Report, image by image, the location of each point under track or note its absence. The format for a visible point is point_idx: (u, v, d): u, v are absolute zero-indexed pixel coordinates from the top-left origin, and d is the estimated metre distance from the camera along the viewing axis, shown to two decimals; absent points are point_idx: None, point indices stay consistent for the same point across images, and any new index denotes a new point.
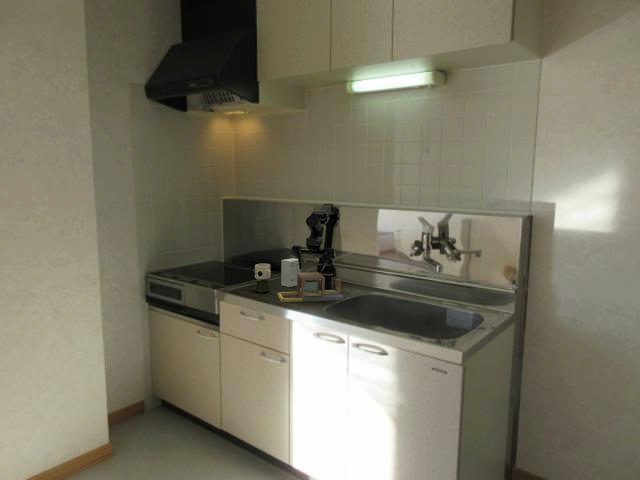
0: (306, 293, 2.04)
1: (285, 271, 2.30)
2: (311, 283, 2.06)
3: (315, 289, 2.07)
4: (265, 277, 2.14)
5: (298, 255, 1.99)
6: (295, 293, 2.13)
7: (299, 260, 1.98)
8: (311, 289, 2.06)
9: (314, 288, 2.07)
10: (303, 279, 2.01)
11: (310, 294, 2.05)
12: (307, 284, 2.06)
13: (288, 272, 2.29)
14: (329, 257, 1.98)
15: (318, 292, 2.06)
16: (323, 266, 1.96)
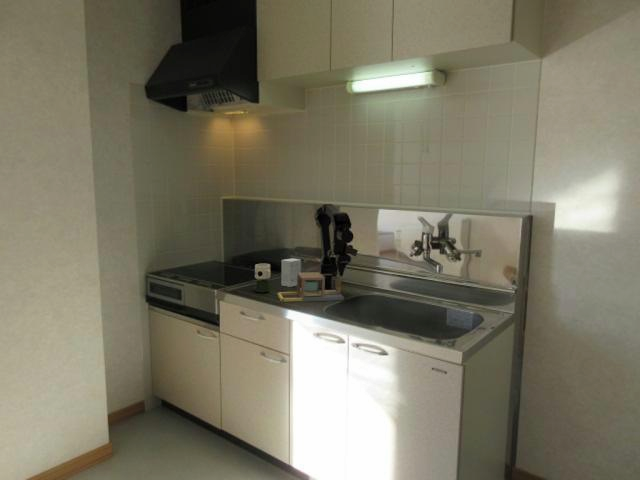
0: (306, 293, 2.04)
1: (285, 271, 2.30)
2: (311, 283, 2.06)
3: (315, 289, 2.07)
4: (265, 277, 2.14)
5: None
6: (295, 293, 2.13)
7: None
8: (311, 289, 2.06)
9: (314, 288, 2.07)
10: (303, 279, 2.01)
11: (310, 294, 2.05)
12: (307, 284, 2.06)
13: (288, 272, 2.29)
14: None
15: (318, 292, 2.06)
16: (336, 267, 2.16)
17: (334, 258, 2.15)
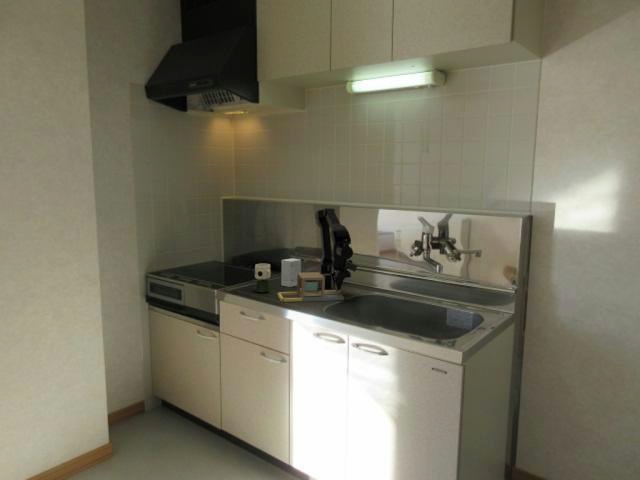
0: (306, 293, 2.04)
1: (285, 271, 2.30)
2: (311, 283, 2.06)
3: (315, 289, 2.07)
4: (265, 277, 2.14)
5: None
6: (295, 293, 2.13)
7: None
8: (311, 289, 2.06)
9: (314, 288, 2.07)
10: (303, 279, 2.01)
11: (310, 294, 2.05)
12: (307, 284, 2.06)
13: (288, 272, 2.29)
14: None
15: (318, 292, 2.06)
16: None
17: None
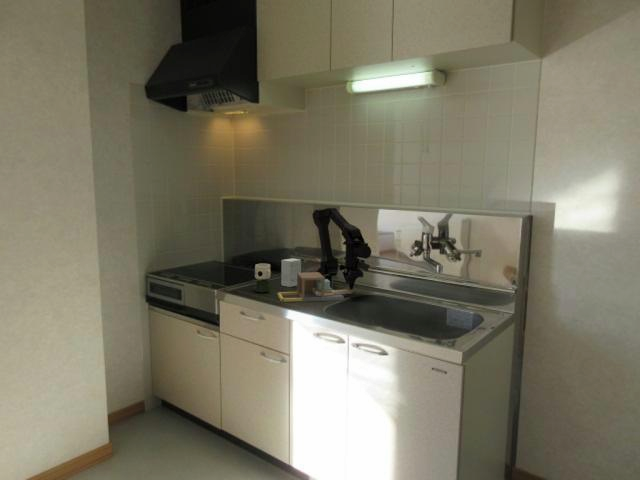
0: (319, 293, 2.06)
1: (285, 271, 2.30)
2: None
3: (328, 289, 2.08)
4: (265, 277, 2.14)
5: None
6: (295, 293, 2.13)
7: None
8: None
9: (327, 287, 2.08)
10: (303, 279, 2.01)
11: None
12: (320, 284, 2.07)
13: (288, 272, 2.29)
14: None
15: (331, 292, 2.07)
16: None
17: (348, 274, 2.14)
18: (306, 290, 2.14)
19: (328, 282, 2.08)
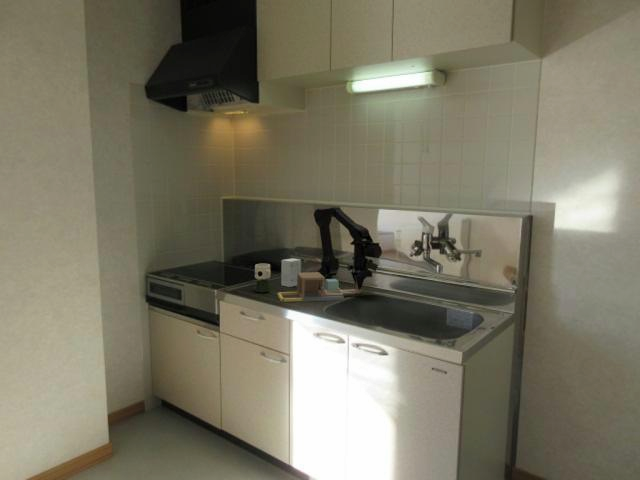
0: (328, 292, 2.07)
1: (285, 271, 2.30)
2: (333, 282, 2.08)
3: (336, 288, 2.09)
4: (265, 277, 2.14)
5: None
6: (295, 293, 2.13)
7: None
8: (332, 288, 2.09)
9: (336, 287, 2.09)
10: (303, 279, 2.01)
11: (332, 293, 2.07)
12: (329, 283, 2.08)
13: (288, 272, 2.29)
14: None
15: (339, 291, 2.08)
16: None
17: (356, 274, 2.15)
18: (306, 290, 2.14)
19: (337, 282, 2.09)
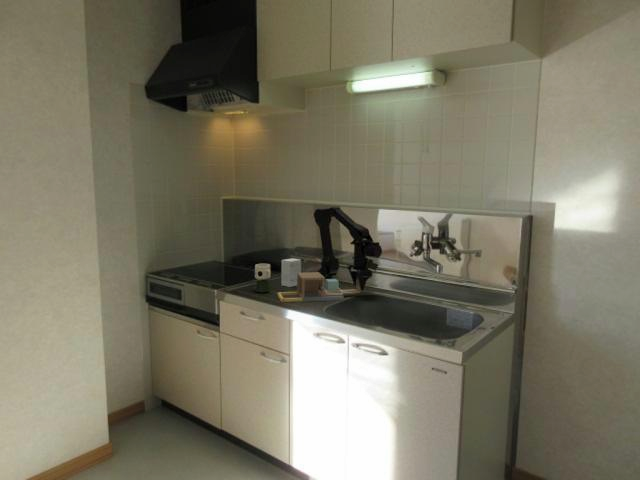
0: (328, 292, 2.07)
1: (285, 271, 2.30)
2: (333, 282, 2.08)
3: (336, 288, 2.09)
4: (265, 277, 2.14)
5: None
6: (295, 293, 2.13)
7: None
8: (333, 288, 2.09)
9: (336, 287, 2.09)
10: (303, 279, 2.01)
11: (332, 293, 2.07)
12: (329, 283, 2.08)
13: (288, 272, 2.29)
14: None
15: (340, 291, 2.08)
16: None
17: (354, 272, 2.18)
18: (306, 290, 2.14)
19: (337, 282, 2.09)
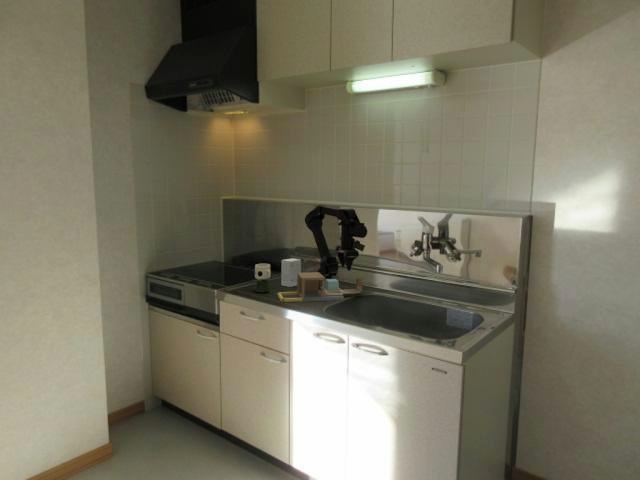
0: (328, 292, 2.07)
1: (285, 271, 2.30)
2: (333, 282, 2.08)
3: (336, 288, 2.09)
4: (265, 277, 2.14)
5: None
6: (295, 293, 2.13)
7: None
8: (333, 288, 2.09)
9: (336, 287, 2.09)
10: (303, 279, 2.01)
11: (332, 293, 2.07)
12: (329, 283, 2.08)
13: (288, 272, 2.29)
14: None
15: (340, 291, 2.08)
16: None
17: (342, 253, 2.21)
18: (306, 290, 2.14)
19: (337, 282, 2.09)
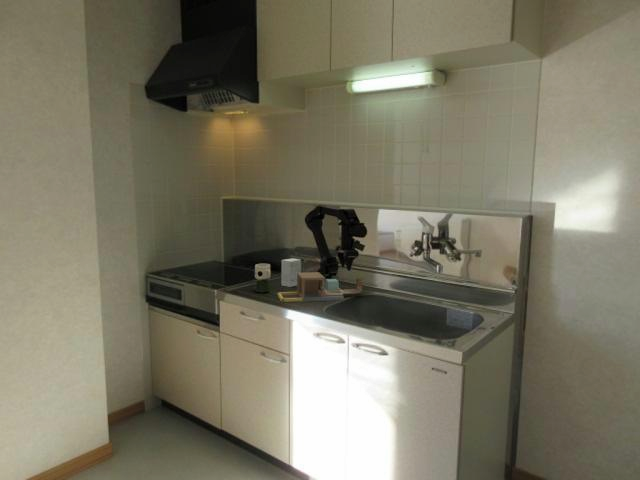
0: (328, 292, 2.07)
1: (285, 271, 2.30)
2: (333, 282, 2.08)
3: (336, 288, 2.09)
4: (265, 277, 2.14)
5: None
6: (295, 293, 2.13)
7: None
8: (333, 288, 2.09)
9: (336, 287, 2.09)
10: (303, 279, 2.01)
11: (332, 293, 2.07)
12: (329, 283, 2.08)
13: (288, 272, 2.29)
14: None
15: (340, 291, 2.08)
16: None
17: (341, 253, 2.21)
18: (306, 290, 2.14)
19: (337, 282, 2.09)
